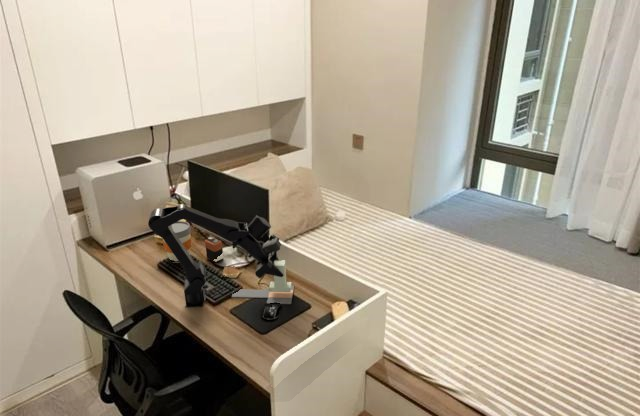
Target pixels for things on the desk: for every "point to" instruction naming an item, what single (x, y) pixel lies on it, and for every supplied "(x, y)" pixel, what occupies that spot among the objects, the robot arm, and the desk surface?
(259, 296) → the t mat
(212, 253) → the battery
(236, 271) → the shard
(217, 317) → the desk surface
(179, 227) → the reusable coffee cup
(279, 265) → the t post
